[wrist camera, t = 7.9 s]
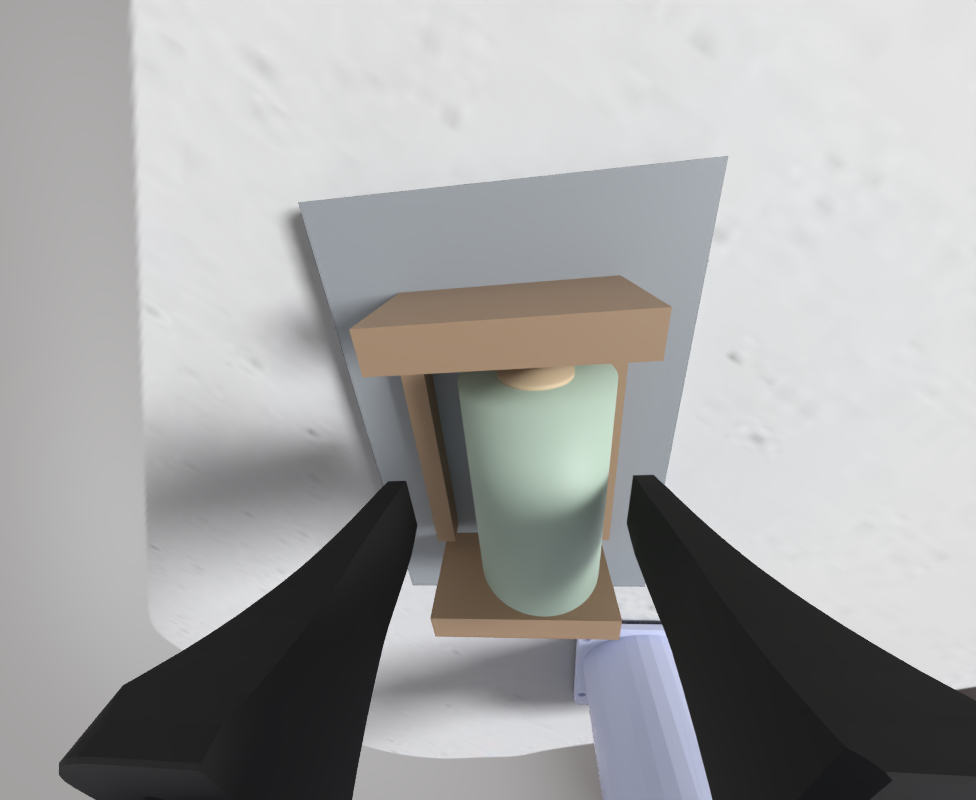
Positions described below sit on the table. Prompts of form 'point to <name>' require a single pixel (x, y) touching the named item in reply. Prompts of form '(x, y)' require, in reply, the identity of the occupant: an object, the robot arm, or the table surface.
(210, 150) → the table surface
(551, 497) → the roll
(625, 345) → the holder
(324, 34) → the table surface
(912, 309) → the table surface
